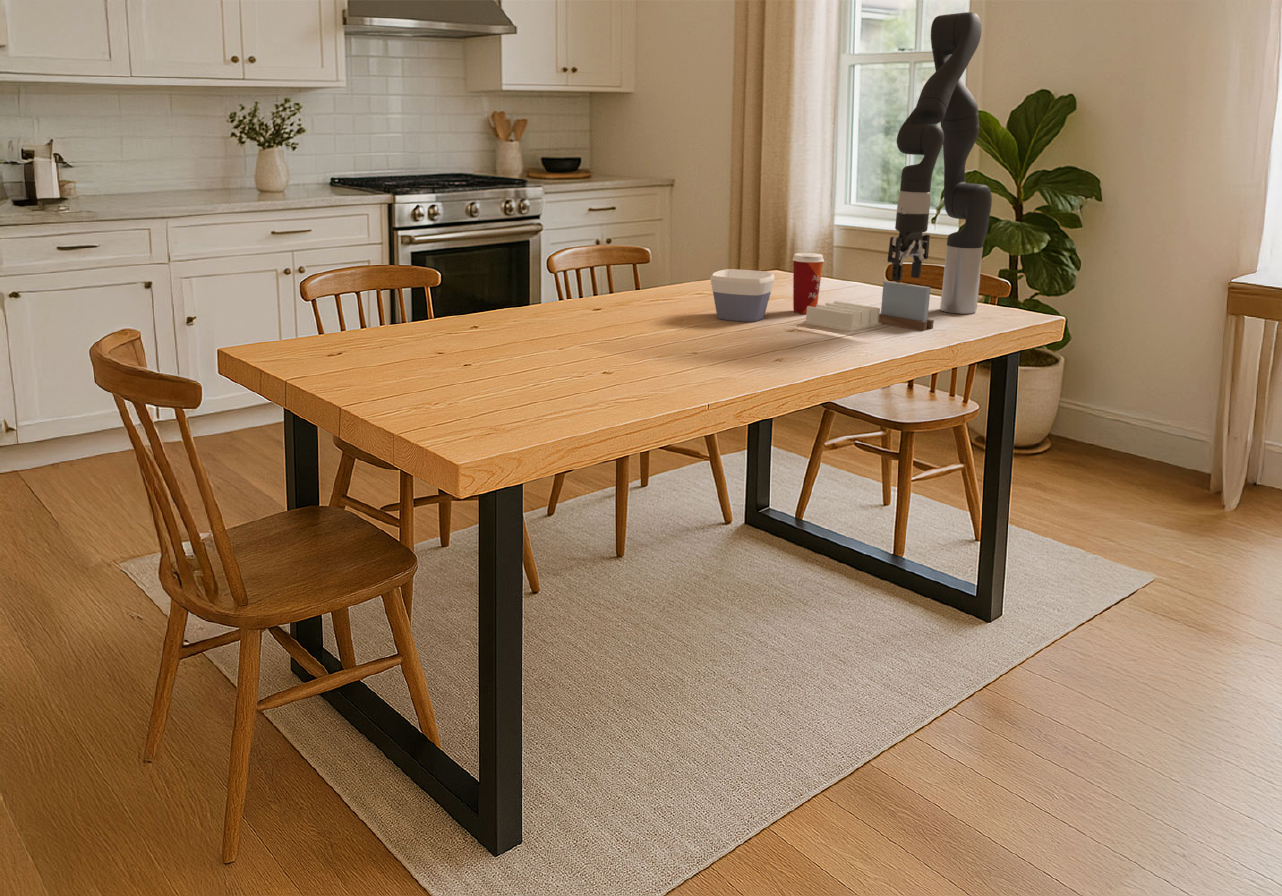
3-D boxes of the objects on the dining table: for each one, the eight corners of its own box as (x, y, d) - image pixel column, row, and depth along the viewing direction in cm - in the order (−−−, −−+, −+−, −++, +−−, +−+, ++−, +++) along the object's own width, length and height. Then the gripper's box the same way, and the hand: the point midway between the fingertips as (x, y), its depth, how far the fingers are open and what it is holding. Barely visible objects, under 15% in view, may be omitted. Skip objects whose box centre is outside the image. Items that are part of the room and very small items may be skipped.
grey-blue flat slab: (884, 321, 272) (887, 281, 269) (926, 328, 264) (930, 287, 261) (880, 321, 270) (883, 281, 267) (922, 329, 262) (926, 288, 259)
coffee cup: (819, 315, 281) (823, 257, 277) (787, 313, 283) (791, 256, 278) (821, 309, 289) (825, 253, 284) (790, 308, 291) (793, 251, 286)
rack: (833, 319, 277) (835, 300, 275) (880, 327, 268) (882, 308, 266) (803, 325, 268) (804, 306, 267) (850, 334, 259) (852, 314, 257)
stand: (883, 322, 274) (884, 311, 273) (933, 331, 264) (934, 320, 263) (872, 325, 270) (873, 314, 269) (922, 334, 261) (923, 322, 260)
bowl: (702, 320, 273) (704, 275, 270) (721, 310, 287) (723, 267, 283) (761, 325, 268) (763, 280, 264) (778, 315, 281) (780, 272, 278)
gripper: (915, 208, 266) (908, 274, 271) (882, 210, 256) (876, 279, 261) (942, 211, 261) (935, 278, 266) (910, 213, 251) (903, 283, 256)
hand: (906, 279), depth 264 cm, fingers open, 8 cm apart
